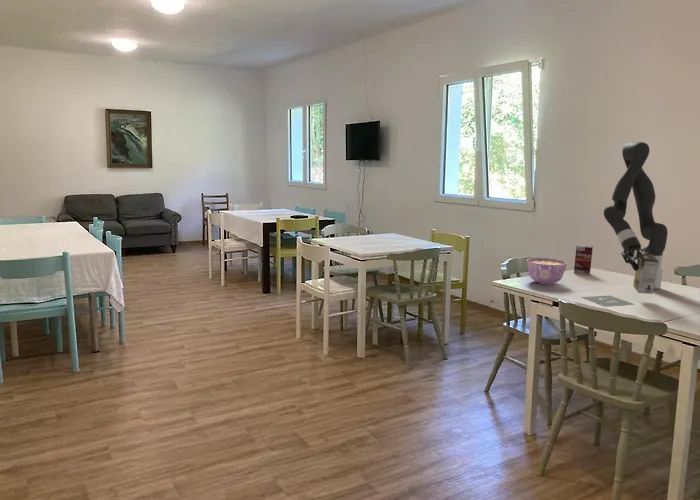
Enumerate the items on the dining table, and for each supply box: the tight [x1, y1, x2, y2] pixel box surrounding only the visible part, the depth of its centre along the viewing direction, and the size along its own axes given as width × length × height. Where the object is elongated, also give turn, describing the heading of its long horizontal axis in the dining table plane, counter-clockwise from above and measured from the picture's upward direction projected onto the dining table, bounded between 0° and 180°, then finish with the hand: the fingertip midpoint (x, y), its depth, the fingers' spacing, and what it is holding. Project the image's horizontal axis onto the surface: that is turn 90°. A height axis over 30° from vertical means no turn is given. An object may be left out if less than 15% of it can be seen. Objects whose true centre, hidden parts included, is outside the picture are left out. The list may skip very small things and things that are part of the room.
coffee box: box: [632, 254, 659, 295], centre depth 254 cm, size 9×6×16 cm
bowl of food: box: [526, 257, 568, 285], centre depth 290 cm, size 20×20×12 cm
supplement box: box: [573, 244, 594, 276], centre depth 314 cm, size 9×5×16 cm, turn 68°
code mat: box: [581, 295, 634, 307], centre depth 257 cm, size 16×16×1 cm
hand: (644, 269), depth 256 cm, fingers closed on coffee box, 7 cm apart
